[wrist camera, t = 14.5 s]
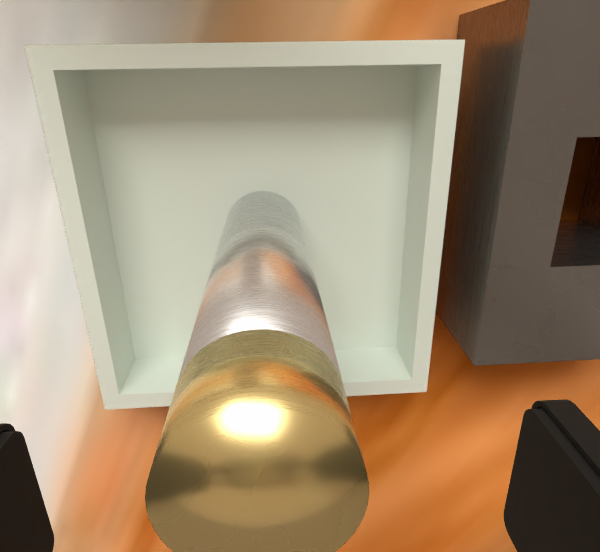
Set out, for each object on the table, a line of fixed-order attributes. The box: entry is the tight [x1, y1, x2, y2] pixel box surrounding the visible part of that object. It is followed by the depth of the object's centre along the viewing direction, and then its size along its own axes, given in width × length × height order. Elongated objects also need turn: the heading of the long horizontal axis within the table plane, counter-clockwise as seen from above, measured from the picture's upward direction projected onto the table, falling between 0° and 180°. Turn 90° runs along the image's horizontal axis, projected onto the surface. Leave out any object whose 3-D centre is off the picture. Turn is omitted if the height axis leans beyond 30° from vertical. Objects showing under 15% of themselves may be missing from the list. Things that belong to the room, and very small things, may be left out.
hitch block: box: [435, 0, 600, 366], centre depth 21 cm, size 14×10×6 cm
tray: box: [24, 40, 465, 410], centre depth 22 cm, size 16×16×4 cm
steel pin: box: [145, 191, 369, 552], centre depth 15 cm, size 4×4×16 cm
